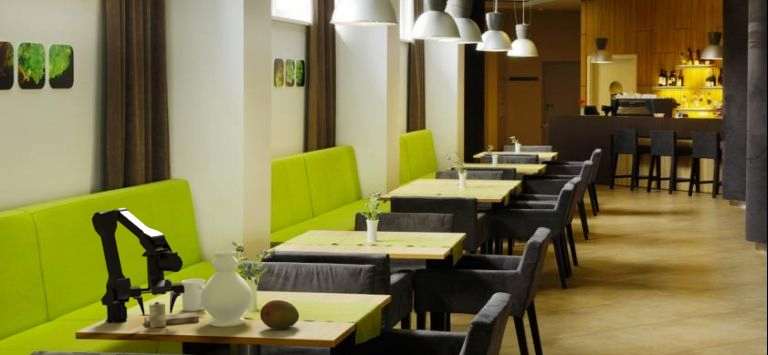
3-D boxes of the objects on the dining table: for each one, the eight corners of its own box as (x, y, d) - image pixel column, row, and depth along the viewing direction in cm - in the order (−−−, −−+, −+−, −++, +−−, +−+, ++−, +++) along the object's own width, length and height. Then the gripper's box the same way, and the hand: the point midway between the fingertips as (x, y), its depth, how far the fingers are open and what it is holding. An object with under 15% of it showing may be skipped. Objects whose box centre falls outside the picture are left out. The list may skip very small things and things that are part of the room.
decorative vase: (232, 330, 378) (229, 257, 376) (191, 325, 387) (188, 254, 385) (262, 319, 394) (260, 249, 391) (222, 315, 402) (220, 246, 400)
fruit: (255, 329, 378) (254, 300, 377) (281, 323, 388) (280, 294, 387) (279, 334, 371) (278, 304, 370) (305, 327, 380) (304, 298, 379)
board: (147, 326, 387) (146, 320, 387) (144, 322, 393) (144, 316, 393) (198, 321, 393) (198, 316, 392) (195, 317, 399) (195, 312, 399)
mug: (198, 313, 407) (196, 284, 406) (177, 309, 415) (176, 281, 414) (216, 309, 413) (215, 281, 412) (196, 305, 421) (195, 277, 420)
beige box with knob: (151, 327, 384) (150, 303, 383) (147, 322, 393) (146, 298, 392) (165, 326, 386) (164, 302, 385) (162, 320, 395) (161, 297, 394)
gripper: (130, 275, 374) (132, 321, 375) (186, 271, 380) (188, 316, 381) (127, 270, 384) (128, 315, 386) (181, 266, 390) (183, 310, 392)
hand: (157, 314), depth 386 cm, fingers open, 9 cm apart
